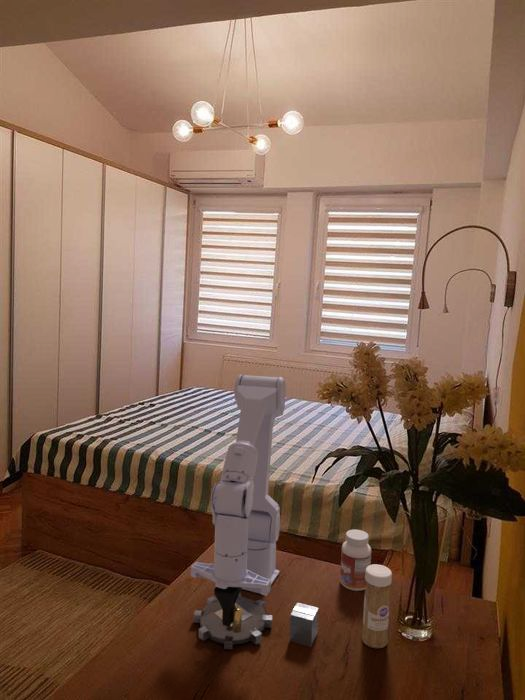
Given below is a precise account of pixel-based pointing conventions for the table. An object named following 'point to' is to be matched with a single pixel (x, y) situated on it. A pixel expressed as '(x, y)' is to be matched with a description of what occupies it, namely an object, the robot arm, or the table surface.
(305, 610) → the grooved silver cube
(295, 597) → the table surface
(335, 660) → the table surface
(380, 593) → the sprinkles bottle
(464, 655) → the table surface
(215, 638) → the sprocket
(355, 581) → the pill bottle
